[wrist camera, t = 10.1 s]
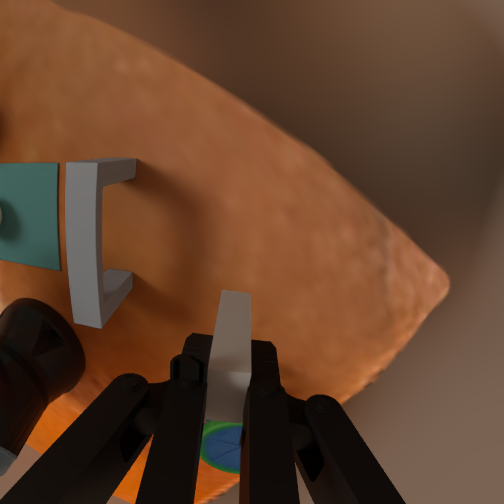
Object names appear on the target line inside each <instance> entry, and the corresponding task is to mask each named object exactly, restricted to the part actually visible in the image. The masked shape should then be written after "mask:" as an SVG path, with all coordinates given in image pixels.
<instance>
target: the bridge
mask: <svg viewBox="0 0 504 504" xmlns="http://www.w3.org/2000/svg"><path fill="white" fill-rule="evenodd" d="M136 162H137V159H134V158H101V159H91V160H82V161H73V162H66V187H65V223H66V249H67V264H68V276H69V287H70V296H71V304H72V312H73V319H74V323H77V324H81V325H86V326H90V327H95V328H100V329H102V328H103V326H104V325H105V324H106V322H107V321H108V320H109V318H110V317H111V316H112V314H113V313H114V312H115V310H116V309H117V308H118V306H119V305H120V304H121V303H122V301H123V300H124V299H125V297H126V296H127V295H128V294H129V292H130V291H131V290H132V288H133V277H132V272H129V271H122V270H115V269H108V270H107V271H106V272H104V273H103V266H102V191H103V187H104V186H107V185H111V184H114V183H118V182H121V181H125V180H129V179H132V178H135V175H136Z"/></svg>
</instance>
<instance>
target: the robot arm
mask: <svg viewBox="0 0 504 504" xmlns="http://www.w3.org/2000/svg"><path fill="white" fill-rule="evenodd" d="M84 370H85V357H84V353H83V350H82V347H81V344H80V342H79V340H78V338H77V336H76V335H75V333H74V332H73V330H72V329H71V327H70V326H69V325H68V324H67V322H66V321H65V320H64V319H63V318H62V317H61V316H60V315H59V314H58V313H57V312H56V311H54V310H53V309H52V308H50V307H49V306H47V305H46V304H44V303H42V302H40V301H37V300H34V299H30V298H21V299H17V300H15V301H14V302H12V303H11V304H10V305H9V306H7V307H6V308H5V309H4V310H3V311H2V313H1V315H0V476H2V475H4V474H5V473H6V472H7V470H8V469H9V467H10V466H11V464H12V463H13V462H14V460H16V459H17V457H18V455H19V453H20V451H21V450H22V448H23V446H24V444H25V443H26V441H27V439H28V437H29V436H30V434H31V432H32V431H33V429H34V427H35V425H36V424H37V422H38V420H39V419H40V417H41V416H42V414H43V412H44V411H45V409H46V408H47V406H48V405H49V404H50V403H51V402H53V401H54V400H55V399H57V398H58V397H60V396H61V395H62V394H64V393H67V392H68V391H70V390H72V389H73V388H74V387H75V386H76V385H77V383H78V382H79V380H80V378H81V377H82V375H83V373H84ZM204 419H205V420H213V421H221V422H230V423H240V424H242V420H243V426H242V431H241V436H240V441H239V445H241V450H240V489H239V490H240V491H239V504H300V500H299V493H298V485H297V476H296V468H295V463H296V465H297V467H298V469H299V472H300V474H301V476H302V478H303V480H304V483H305V484H306V487H307V489H308V491H309V493H310V496H311V497H312V500H313V502H314V504H406V503H405V501H404V500H403V499H402V497H401V496H400V494H399V493H398V491H397V490H396V488H395V487H394V485H393V484H392V482H391V481H390V479H389V478H388V476H387V475H386V473H385V472H384V470H383V469H382V467H381V466H380V464H379V463H378V461H377V460H376V458H375V457H374V455H373V454H372V452H371V451H370V449H369V448H368V446H367V445H366V443H365V442H364V440H363V439H362V437H361V436H360V434H359V433H358V431H357V430H356V428H355V427H354V425H353V423H352V422H351V420H350V419H349V418H348V416H347V414H346V413H345V411H344V410H343V408H342V407H341V405H340V404H339V403H338V402H337V401H336V400H335V399H334V398H332V397H330V396H327V395H314V396H311V397H309V398H308V399H307V401H304V400H301V399H297V398H294V397H292V396H290V395H288V394H287V393H286V392H285V389H284V387H282V386H281V383H280V375H279V367H278V359H277V351H276V348H275V346H274V345H273V344H272V343H271V342H270V341H260V340H251V293H243V292H235V291H228V290H222V293H221V298H220V303H219V309H218V314H217V320H216V325H215V331H214V336H212V335H204V334H197V333H192V334H191V335H190V336H188V337H187V338H186V341H185V344H184V347H183V350H182V354H180V355H177V356H175V357H174V358H173V359H172V360H171V361H170V380H168V381H165V382H162V383H148V381H147V380H146V379H145V378H144V377H142V376H140V375H138V374H134V373H126V374H123V375H120V376H118V377H117V378H115V379H114V380H113V381H112V382H111V383H110V384H109V385H108V387H107V388H106V389H105V390H104V391H103V392H102V393H101V394H100V395H99V396H98V397H97V398H96V399H95V400H94V401H93V402H92V403H91V404H90V405H89V406H88V407H87V408H86V409H85V411H84V412H83V413H82V414H81V415H80V416H79V417H78V418H77V419H76V420H75V421H74V422H73V423H72V424H71V425H70V426H69V427H68V428H67V429H66V431H65V432H64V433H63V434H62V435H61V436H60V437H59V438H58V439H57V440H56V441H55V442H54V443H53V444H52V445H51V446H50V447H49V448H48V450H47V451H46V452H45V453H44V454H43V455H42V456H41V457H40V458H39V459H38V460H37V461H36V462H35V463H34V464H33V465H32V467H31V468H30V469H29V470H28V471H27V472H26V473H25V474H24V475H23V476H22V477H21V478H20V479H19V480H18V481H17V483H16V484H15V485H14V486H13V487H12V488H11V489H10V490H9V491H8V492H7V493H6V494H5V495H4V497H3V498H2V499H1V500H0V504H106V503H107V501H108V500H109V498H110V497H111V496H112V494H113V493H114V491H115V490H116V488H117V487H118V485H119V484H120V482H121V481H122V480H123V478H124V477H125V475H126V474H127V472H128V471H129V469H130V468H131V466H132V465H133V463H134V462H135V460H136V459H137V457H138V456H139V455H140V453H141V452H142V450H143V449H144V447H145V446H146V444H147V443H148V441H149V440H150V438H151V437H152V434H154V436H153V440H152V443H151V447H150V450H149V454H148V458H147V461H146V465H145V469H144V472H143V476H142V480H141V483H140V487H139V491H138V495H137V499H136V503H135V504H194V497H195V489H196V481H197V473H198V465H199V458H200V451H201V443H202V436H203V428H204Z"/></svg>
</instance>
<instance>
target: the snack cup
mask: <svg viewBox="0 0 504 504" xmlns="http://www.w3.org/2000/svg"><path fill="white" fill-rule="evenodd" d="M242 426H243V420H242V424H240V423H230V422H221V421H213V420H206V421H205V424H204V428H203V436H202V443H201V451H200V457H201V459H202V460H203V461H204V462H206V463H207V464H209V465H210V466H212V467H214V468H216V469H218V470H221V471H224V472H228V473H234V474H240V450H241V445H239V441H240V436H241V431H242Z"/></svg>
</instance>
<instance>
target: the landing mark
mask: <svg viewBox="0 0 504 504" xmlns="http://www.w3.org/2000/svg"><path fill="white" fill-rule="evenodd" d="M58 165H59V163H5V164H0V208H1V211H2V220H1V224H0V259H1V260H6V261H11V262H16V263H21V264H26V265H31V266H36V267H42V268H47V269H52V270H58V271H60V270H61V268H60V255H59V238H58Z"/></svg>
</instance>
